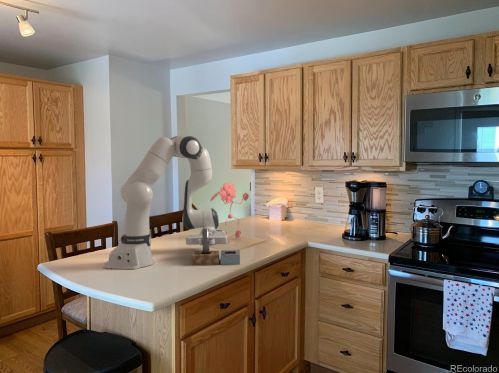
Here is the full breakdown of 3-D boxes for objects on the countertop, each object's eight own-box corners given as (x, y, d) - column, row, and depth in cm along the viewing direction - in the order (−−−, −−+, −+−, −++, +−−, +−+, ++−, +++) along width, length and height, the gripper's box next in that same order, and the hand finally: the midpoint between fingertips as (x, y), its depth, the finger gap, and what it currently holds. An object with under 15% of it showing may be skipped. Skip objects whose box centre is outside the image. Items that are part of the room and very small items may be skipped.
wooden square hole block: (192, 265, 178) (192, 255, 178) (194, 260, 187) (194, 251, 187) (218, 264, 178) (218, 255, 178) (219, 259, 187) (219, 250, 187)
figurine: (253, 238, 236) (251, 181, 234) (218, 245, 219) (216, 183, 217) (237, 235, 247) (235, 181, 245) (203, 241, 231) (201, 183, 229)
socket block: (220, 264, 178) (220, 255, 178) (221, 259, 187) (221, 250, 187) (240, 264, 179) (239, 254, 178) (239, 259, 188) (239, 250, 187)
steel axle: (202, 263, 181) (201, 229, 180) (203, 261, 184) (202, 228, 183) (209, 263, 181) (208, 229, 180) (209, 261, 184) (209, 228, 183)
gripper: (187, 231, 194) (183, 236, 180) (227, 230, 195) (226, 236, 181) (187, 243, 195) (183, 250, 181) (227, 242, 195) (227, 249, 182)
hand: (205, 243), depth 181 cm, fingers closed on steel axle, 3 cm apart
